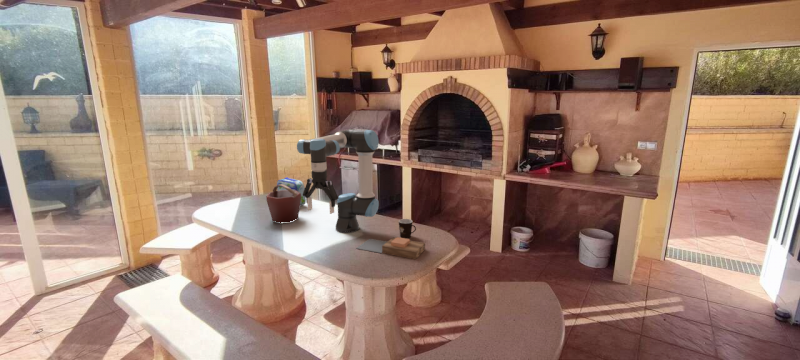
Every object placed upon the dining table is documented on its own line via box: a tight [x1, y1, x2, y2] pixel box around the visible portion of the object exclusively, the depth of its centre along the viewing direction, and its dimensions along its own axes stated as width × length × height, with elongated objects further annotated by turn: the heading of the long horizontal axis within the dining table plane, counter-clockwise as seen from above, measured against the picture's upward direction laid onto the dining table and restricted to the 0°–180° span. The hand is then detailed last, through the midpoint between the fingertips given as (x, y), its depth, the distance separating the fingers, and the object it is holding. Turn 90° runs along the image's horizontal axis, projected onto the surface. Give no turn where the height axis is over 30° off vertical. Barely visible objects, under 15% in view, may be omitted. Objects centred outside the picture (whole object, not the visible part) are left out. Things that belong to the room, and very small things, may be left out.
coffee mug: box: [398, 218, 417, 239], centre depth 234 cm, size 12×9×10 cm
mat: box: [355, 238, 388, 254], centre depth 222 cm, size 16×16×1 cm
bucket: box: [266, 184, 301, 224], centre depth 264 cm, size 24×22×25 cm
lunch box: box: [276, 177, 307, 207], centre depth 301 cm, size 26×11×21 cm, turn 51°
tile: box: [391, 236, 411, 248], centre depth 214 cm, size 8×8×2 cm
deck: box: [381, 237, 426, 260], centre depth 214 cm, size 14×20×4 cm
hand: (320, 211), depth 195 cm, fingers open, 13 cm apart
